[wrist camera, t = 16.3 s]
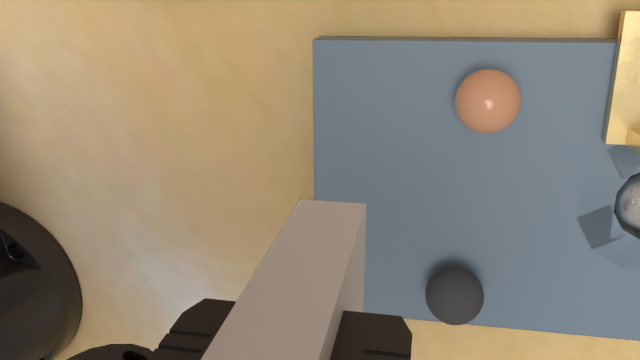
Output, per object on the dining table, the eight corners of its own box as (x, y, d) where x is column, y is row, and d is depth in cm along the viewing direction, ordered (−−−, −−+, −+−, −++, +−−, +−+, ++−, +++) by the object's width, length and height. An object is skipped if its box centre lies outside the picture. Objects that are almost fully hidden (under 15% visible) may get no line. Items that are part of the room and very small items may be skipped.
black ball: (424, 303, 39) (423, 333, 36) (427, 254, 38) (426, 281, 34) (479, 308, 38) (483, 339, 35) (484, 259, 37) (488, 286, 34)
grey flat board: (322, 291, 43) (316, 309, 40) (320, 35, 37) (312, 39, 35) (756, 330, 38) (777, 353, 35) (832, 40, 32) (863, 45, 30)
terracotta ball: (452, 124, 35) (453, 139, 31) (455, 64, 34) (457, 73, 30) (514, 126, 34) (521, 142, 31) (520, 65, 33) (529, 74, 30)
